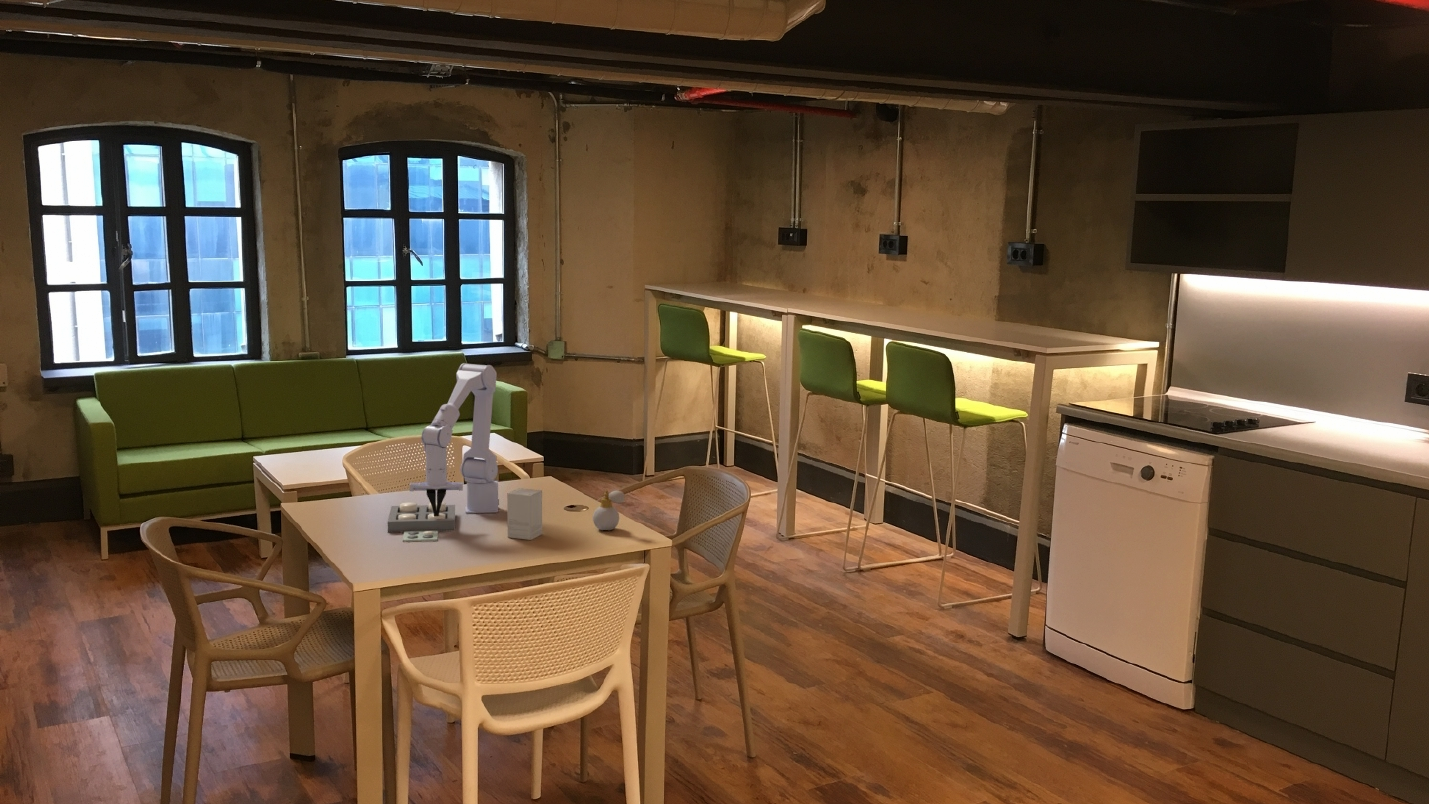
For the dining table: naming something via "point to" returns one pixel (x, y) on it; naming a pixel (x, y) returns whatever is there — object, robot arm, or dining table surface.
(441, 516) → the button
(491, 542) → the dining table surface
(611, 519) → the perfume bottle
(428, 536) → the tile
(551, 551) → the dining table surface
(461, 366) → the robot arm
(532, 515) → the supplement box
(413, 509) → the button
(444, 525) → the button board
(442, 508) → the button
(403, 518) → the button
